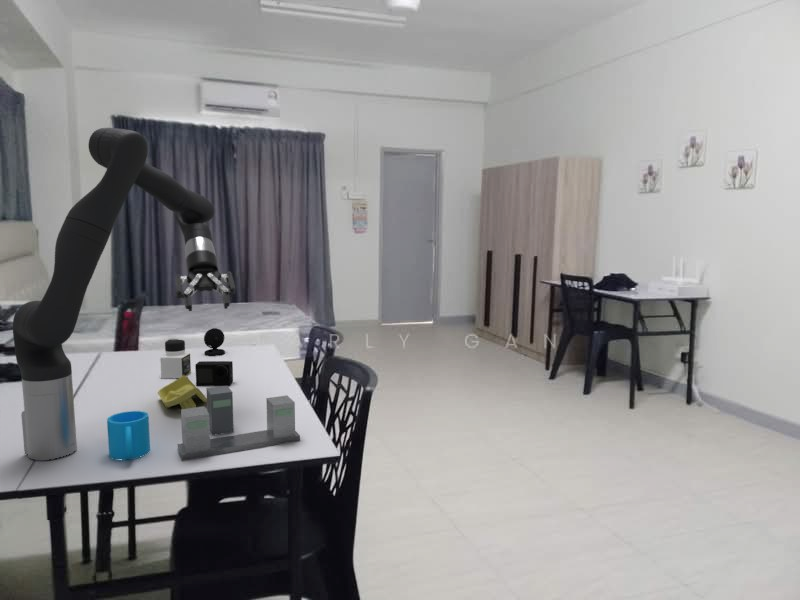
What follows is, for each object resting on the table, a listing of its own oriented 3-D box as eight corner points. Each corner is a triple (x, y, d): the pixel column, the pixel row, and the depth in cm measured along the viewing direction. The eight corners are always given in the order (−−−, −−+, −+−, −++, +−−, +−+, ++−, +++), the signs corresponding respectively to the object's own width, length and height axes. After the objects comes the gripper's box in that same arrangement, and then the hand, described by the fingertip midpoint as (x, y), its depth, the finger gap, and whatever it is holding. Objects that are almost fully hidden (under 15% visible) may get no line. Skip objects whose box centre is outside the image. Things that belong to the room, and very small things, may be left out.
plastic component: (156, 391, 166) (188, 372, 170) (169, 412, 168) (201, 393, 172) (165, 405, 148) (200, 384, 152) (179, 429, 150) (214, 407, 154)
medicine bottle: (182, 378, 187) (181, 342, 186) (160, 378, 187) (159, 342, 186) (191, 373, 194) (189, 337, 193) (170, 372, 194) (168, 337, 193)
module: (212, 435, 138) (210, 394, 137) (207, 427, 144) (206, 388, 142) (233, 432, 140) (232, 392, 139) (228, 424, 146) (227, 385, 145)
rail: (181, 460, 123) (179, 418, 122) (177, 449, 130) (175, 409, 128) (300, 440, 135) (299, 402, 134) (291, 430, 142) (290, 394, 140)
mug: (109, 449, 130) (107, 413, 128) (149, 443, 133) (147, 409, 132) (107, 470, 119) (105, 431, 118) (151, 463, 122) (149, 426, 121)
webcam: (220, 351, 228) (219, 325, 226) (228, 354, 222) (227, 328, 221) (201, 353, 223) (200, 328, 221) (208, 357, 217) (207, 330, 216)
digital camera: (194, 387, 178) (193, 365, 177) (199, 382, 183) (198, 360, 182) (228, 387, 178) (228, 365, 177) (233, 382, 184) (232, 360, 183)
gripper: (172, 249, 148) (178, 301, 139) (229, 248, 153) (239, 297, 145) (172, 268, 153) (178, 318, 145) (227, 266, 159) (236, 314, 151)
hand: (208, 308), depth 145 cm, fingers open, 8 cm apart
